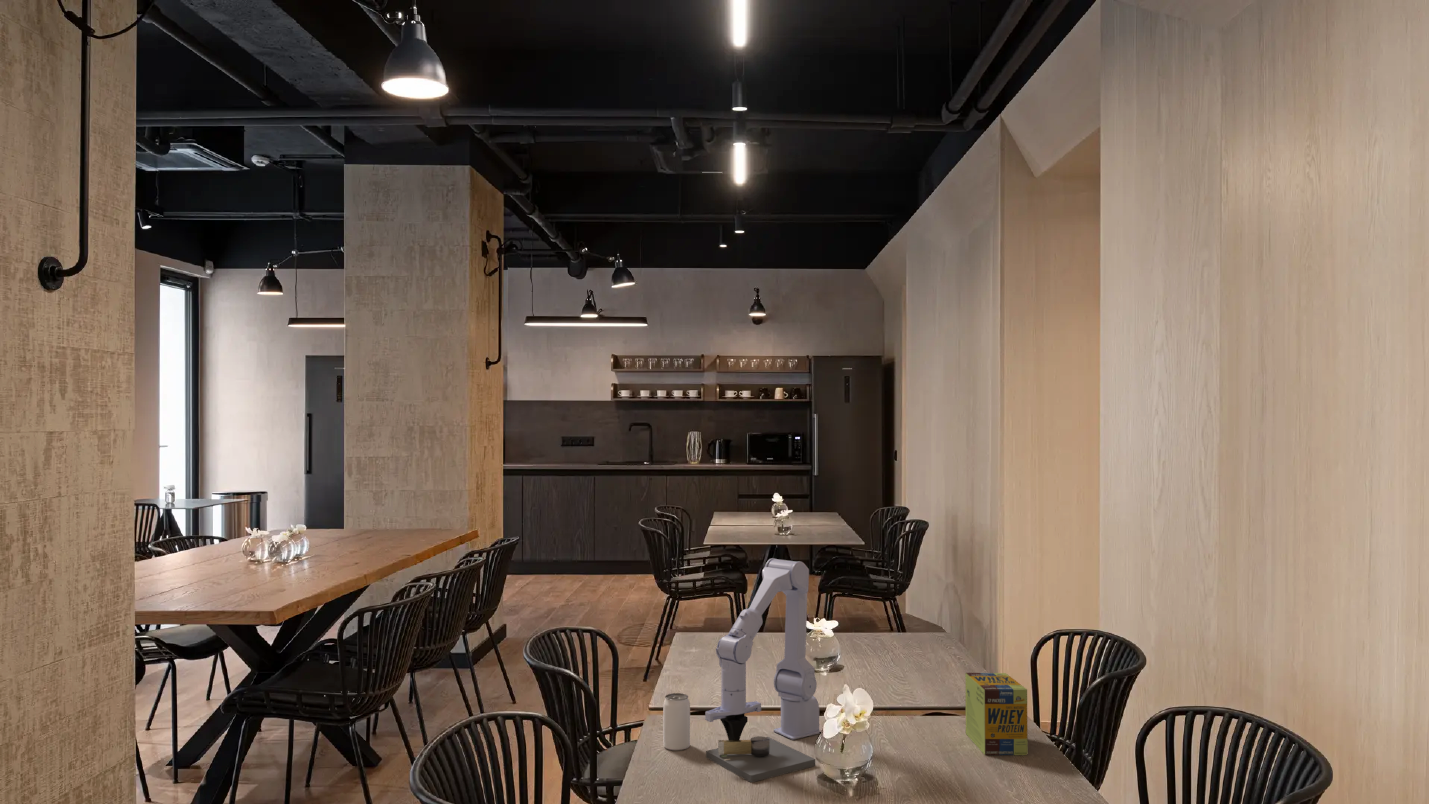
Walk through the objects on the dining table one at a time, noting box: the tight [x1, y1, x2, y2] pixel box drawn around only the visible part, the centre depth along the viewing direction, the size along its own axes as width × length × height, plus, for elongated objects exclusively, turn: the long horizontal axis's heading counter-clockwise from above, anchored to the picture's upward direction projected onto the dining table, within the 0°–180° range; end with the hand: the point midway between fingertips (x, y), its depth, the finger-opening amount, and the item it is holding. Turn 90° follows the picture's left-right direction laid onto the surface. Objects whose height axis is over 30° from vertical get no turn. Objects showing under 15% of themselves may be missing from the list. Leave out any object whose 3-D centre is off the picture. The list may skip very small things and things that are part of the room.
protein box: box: [964, 672, 1029, 756], centre depth 221 cm, size 10×15×16 cm
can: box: [662, 692, 691, 752], centre depth 219 cm, size 6×6×12 cm
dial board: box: [705, 736, 816, 783], centre depth 209 cm, size 18×18×2 cm
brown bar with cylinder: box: [717, 735, 770, 756], centre depth 209 cm, size 4×12×3 cm, turn 93°
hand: (733, 747), depth 211 cm, fingers closed
